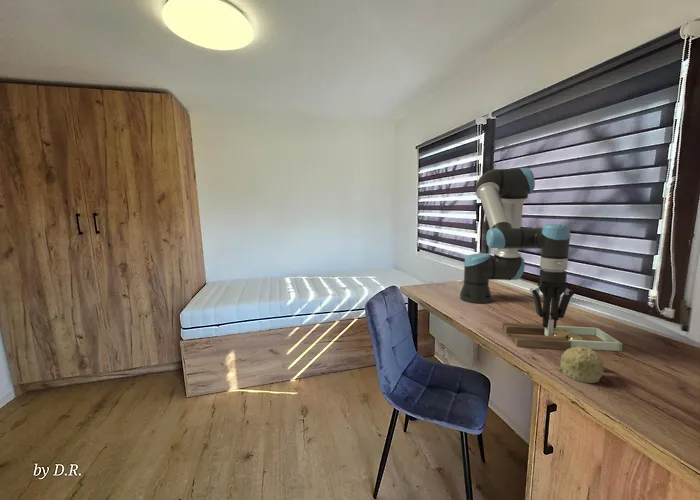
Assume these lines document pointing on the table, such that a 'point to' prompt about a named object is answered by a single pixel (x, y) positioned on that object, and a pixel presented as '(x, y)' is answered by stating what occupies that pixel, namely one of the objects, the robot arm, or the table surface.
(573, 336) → the chip
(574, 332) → the tray
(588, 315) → the table surface
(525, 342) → the slot board
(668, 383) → the table surface
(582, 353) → the decorative object
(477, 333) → the table surface
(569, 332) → the chip
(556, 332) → the chip
